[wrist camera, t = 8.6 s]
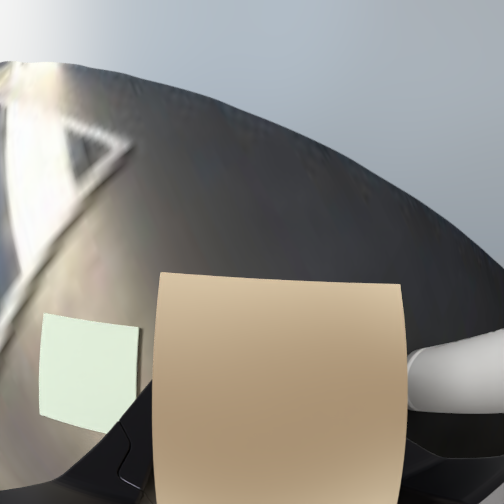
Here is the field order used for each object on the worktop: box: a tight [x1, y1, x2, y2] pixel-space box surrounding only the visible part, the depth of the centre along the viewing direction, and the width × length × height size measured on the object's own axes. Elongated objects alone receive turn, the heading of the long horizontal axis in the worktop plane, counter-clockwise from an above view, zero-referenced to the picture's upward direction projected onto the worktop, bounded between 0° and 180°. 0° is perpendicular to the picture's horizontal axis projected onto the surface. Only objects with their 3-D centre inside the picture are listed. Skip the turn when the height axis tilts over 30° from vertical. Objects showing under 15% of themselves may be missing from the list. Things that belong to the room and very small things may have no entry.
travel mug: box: [407, 328, 504, 414], centre depth 12 cm, size 6×7×20 cm
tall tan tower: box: [152, 272, 408, 504], centre depth 8 cm, size 5×4×12 cm
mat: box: [39, 313, 139, 434], centre depth 17 cm, size 9×9×1 cm
